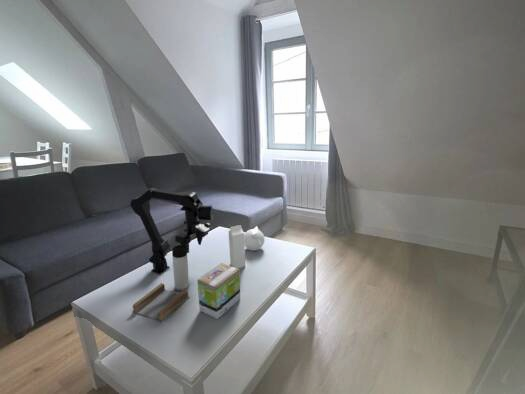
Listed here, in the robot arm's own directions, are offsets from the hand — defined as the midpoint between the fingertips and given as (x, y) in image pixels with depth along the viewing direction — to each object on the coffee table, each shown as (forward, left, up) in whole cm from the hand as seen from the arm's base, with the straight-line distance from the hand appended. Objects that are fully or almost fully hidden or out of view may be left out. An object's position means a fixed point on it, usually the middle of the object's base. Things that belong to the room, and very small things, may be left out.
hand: (193, 248), depth 138 cm
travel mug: (+2, -13, -13) cm, 19 cm away
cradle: (+2, -26, -13) cm, 29 cm away
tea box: (+25, -17, -13) cm, 33 cm away
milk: (+17, +13, -13) cm, 25 cm away
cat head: (+17, +32, -13) cm, 38 cm away
